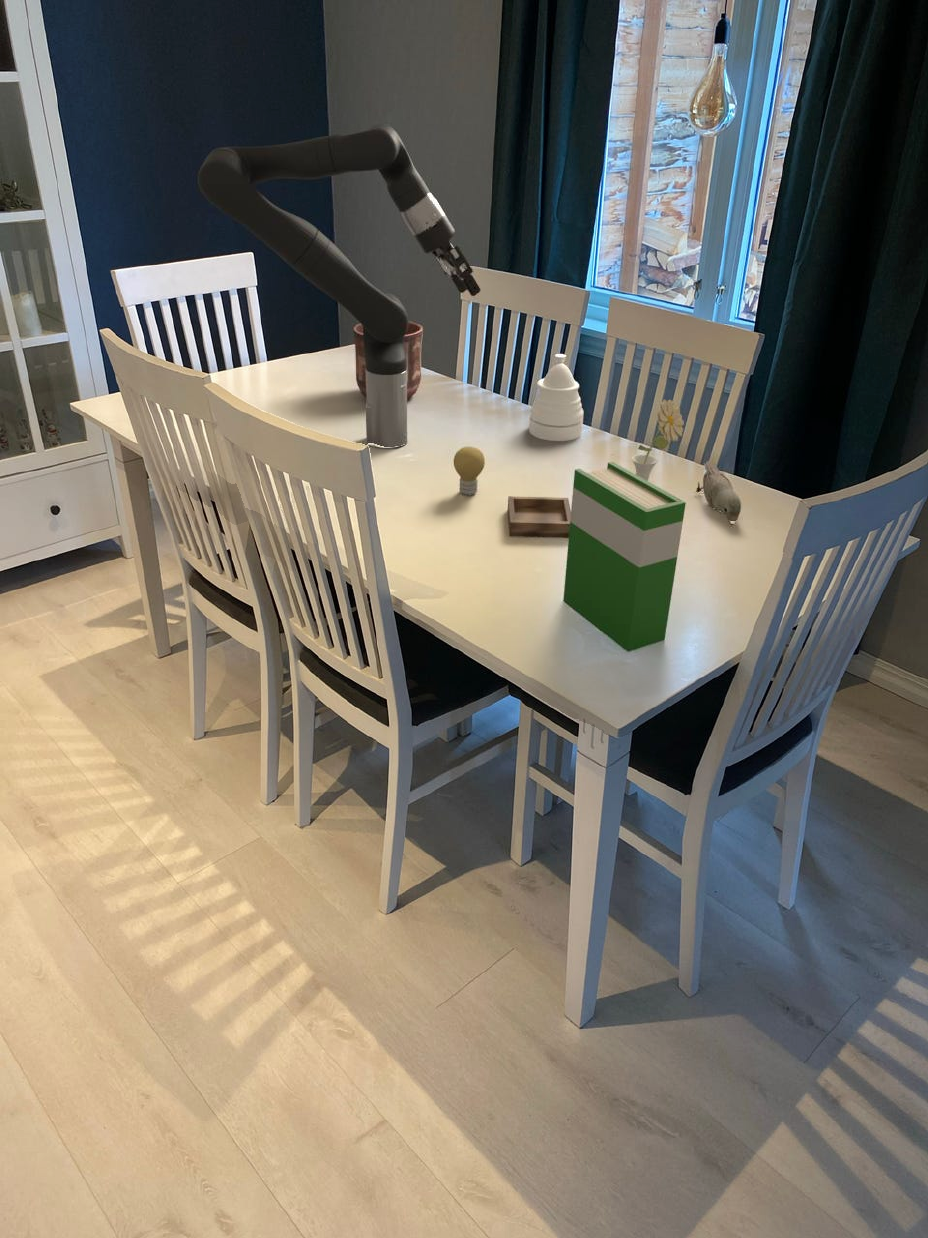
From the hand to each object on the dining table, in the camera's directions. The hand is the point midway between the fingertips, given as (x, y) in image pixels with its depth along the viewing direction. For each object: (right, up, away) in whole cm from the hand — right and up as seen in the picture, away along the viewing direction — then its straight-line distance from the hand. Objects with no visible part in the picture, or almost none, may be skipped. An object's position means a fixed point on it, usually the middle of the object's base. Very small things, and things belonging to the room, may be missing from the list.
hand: (470, 292), depth 201 cm
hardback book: (+23, -69, -42) cm, 84 cm away
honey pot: (+21, -23, +33) cm, 45 cm away
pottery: (-21, -10, +53) cm, 58 cm away
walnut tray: (+13, -49, -11) cm, 52 cm away
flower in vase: (+33, -50, -10) cm, 61 cm away
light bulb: (-1, -42, +1) cm, 42 cm away
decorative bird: (+51, -46, -3) cm, 68 cm away
